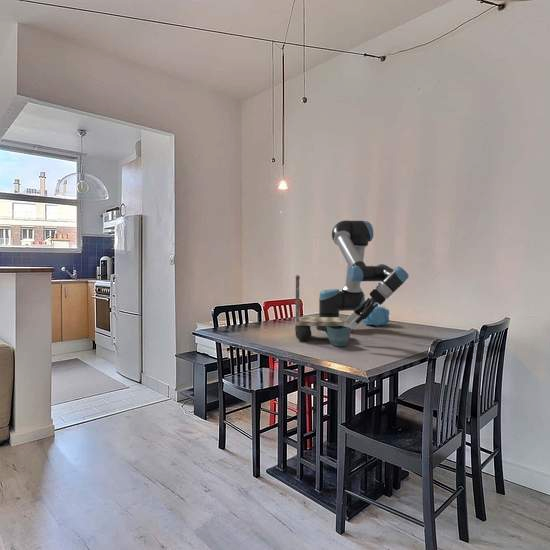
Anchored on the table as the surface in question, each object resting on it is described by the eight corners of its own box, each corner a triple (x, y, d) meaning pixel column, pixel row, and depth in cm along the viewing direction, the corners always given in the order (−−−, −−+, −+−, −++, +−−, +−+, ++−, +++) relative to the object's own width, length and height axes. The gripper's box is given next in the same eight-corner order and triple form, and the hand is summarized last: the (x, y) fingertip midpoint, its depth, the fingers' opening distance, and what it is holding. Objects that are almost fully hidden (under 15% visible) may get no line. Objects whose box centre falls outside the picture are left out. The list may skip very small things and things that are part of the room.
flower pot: (325, 344, 193) (326, 326, 193) (341, 343, 196) (341, 325, 196) (334, 348, 185) (334, 329, 185) (351, 346, 188) (351, 328, 188)
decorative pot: (362, 327, 245) (362, 304, 245) (361, 322, 261) (361, 302, 260) (390, 327, 242) (390, 305, 242) (387, 323, 258) (387, 302, 258)
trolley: (339, 335, 216) (340, 274, 215) (343, 341, 200) (344, 276, 199) (295, 335, 217) (295, 274, 215) (295, 341, 201) (295, 275, 200)
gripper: (369, 286, 202) (339, 315, 203) (381, 290, 177) (346, 323, 178) (380, 297, 202) (350, 326, 203) (393, 302, 177) (358, 335, 178)
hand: (348, 325), depth 190 cm, fingers open, 13 cm apart
